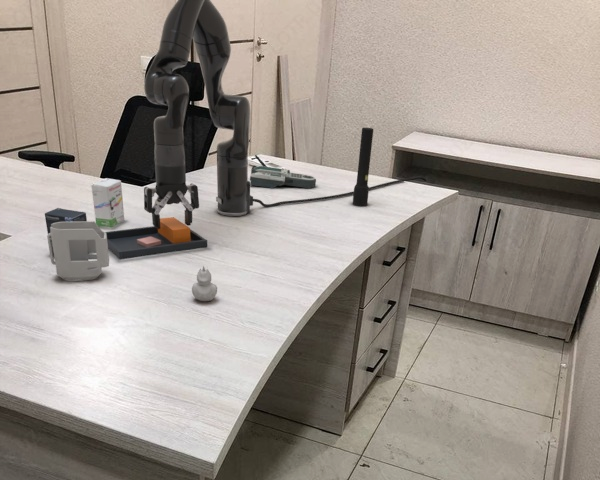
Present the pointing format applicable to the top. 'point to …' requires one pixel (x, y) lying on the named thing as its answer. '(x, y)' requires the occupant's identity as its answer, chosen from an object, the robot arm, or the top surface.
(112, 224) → the ink box
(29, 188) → the top surface
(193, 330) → the top surface
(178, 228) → the orange rectangular block
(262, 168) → the communication device
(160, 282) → the top surface
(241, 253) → the top surface
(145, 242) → the pink block
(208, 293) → the rubber duck
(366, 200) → the flashlight
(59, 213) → the box
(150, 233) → the tray
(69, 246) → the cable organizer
